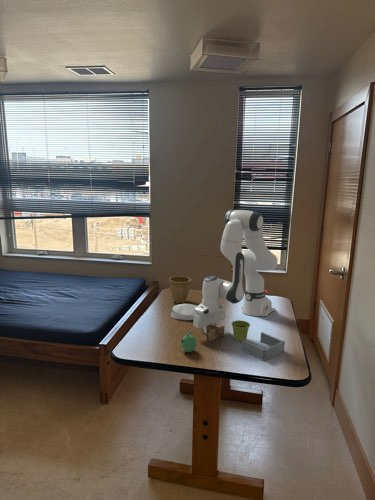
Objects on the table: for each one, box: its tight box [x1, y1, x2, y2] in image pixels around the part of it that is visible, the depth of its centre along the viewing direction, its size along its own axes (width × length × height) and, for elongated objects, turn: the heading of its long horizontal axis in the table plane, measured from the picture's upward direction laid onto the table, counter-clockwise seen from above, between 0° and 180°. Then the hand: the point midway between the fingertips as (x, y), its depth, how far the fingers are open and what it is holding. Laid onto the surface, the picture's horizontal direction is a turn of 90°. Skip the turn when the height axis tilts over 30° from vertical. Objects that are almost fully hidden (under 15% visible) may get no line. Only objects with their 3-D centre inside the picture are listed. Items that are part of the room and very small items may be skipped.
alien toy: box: [179, 330, 197, 353], centre depth 162 cm, size 7×8×10 cm
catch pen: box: [241, 331, 286, 362], centre depth 164 cm, size 15×14×5 cm
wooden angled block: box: [200, 324, 225, 341], centre depth 181 cm, size 10×10×5 cm
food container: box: [170, 303, 198, 321], centre depth 208 cm, size 20×20×7 cm
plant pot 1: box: [168, 276, 192, 304], centre depth 229 cm, size 15×15×16 cm
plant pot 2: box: [231, 320, 251, 343], centre depth 175 cm, size 9×9×9 cm
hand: (209, 331), depth 181 cm, fingers closed on wooden angled block, 3 cm apart
